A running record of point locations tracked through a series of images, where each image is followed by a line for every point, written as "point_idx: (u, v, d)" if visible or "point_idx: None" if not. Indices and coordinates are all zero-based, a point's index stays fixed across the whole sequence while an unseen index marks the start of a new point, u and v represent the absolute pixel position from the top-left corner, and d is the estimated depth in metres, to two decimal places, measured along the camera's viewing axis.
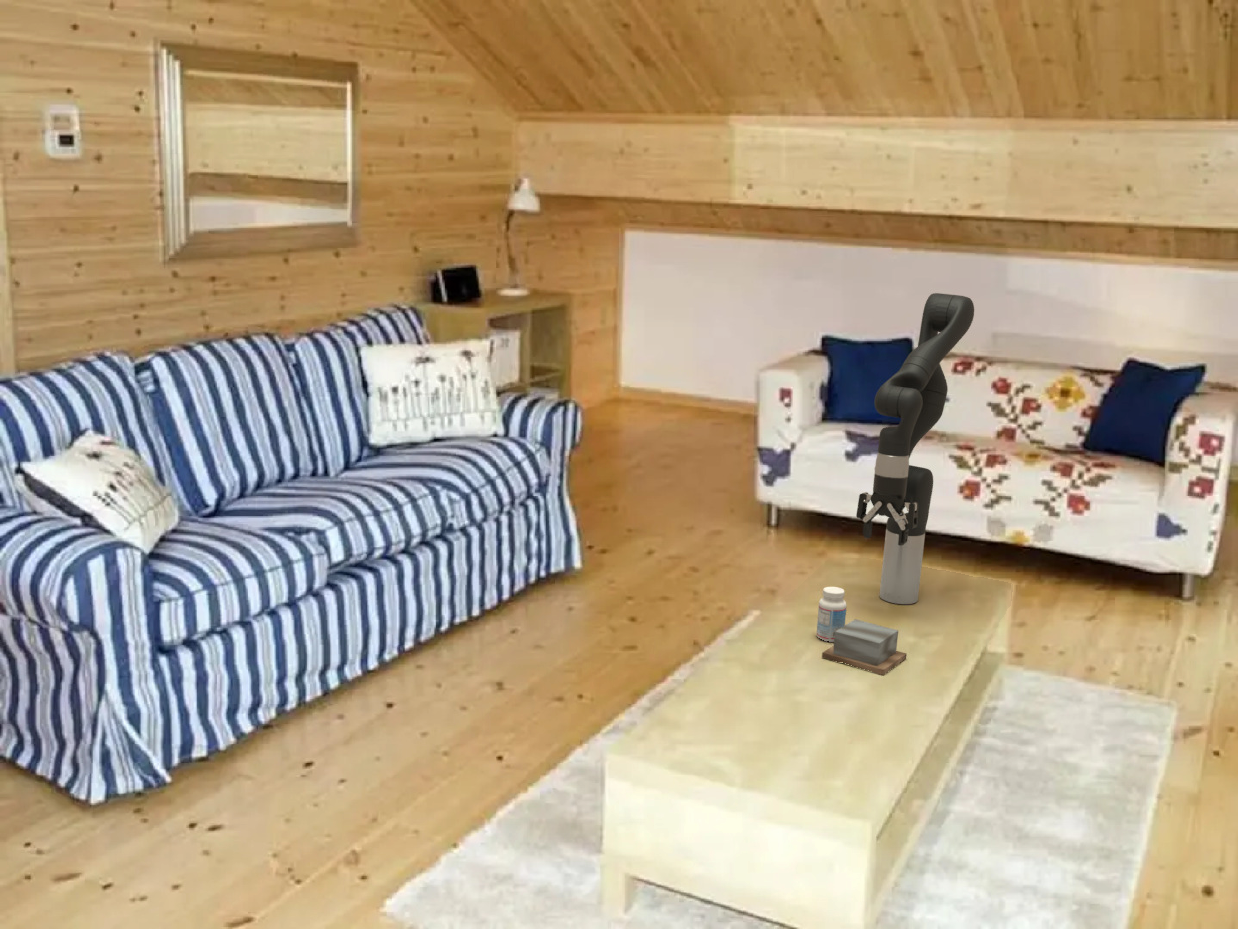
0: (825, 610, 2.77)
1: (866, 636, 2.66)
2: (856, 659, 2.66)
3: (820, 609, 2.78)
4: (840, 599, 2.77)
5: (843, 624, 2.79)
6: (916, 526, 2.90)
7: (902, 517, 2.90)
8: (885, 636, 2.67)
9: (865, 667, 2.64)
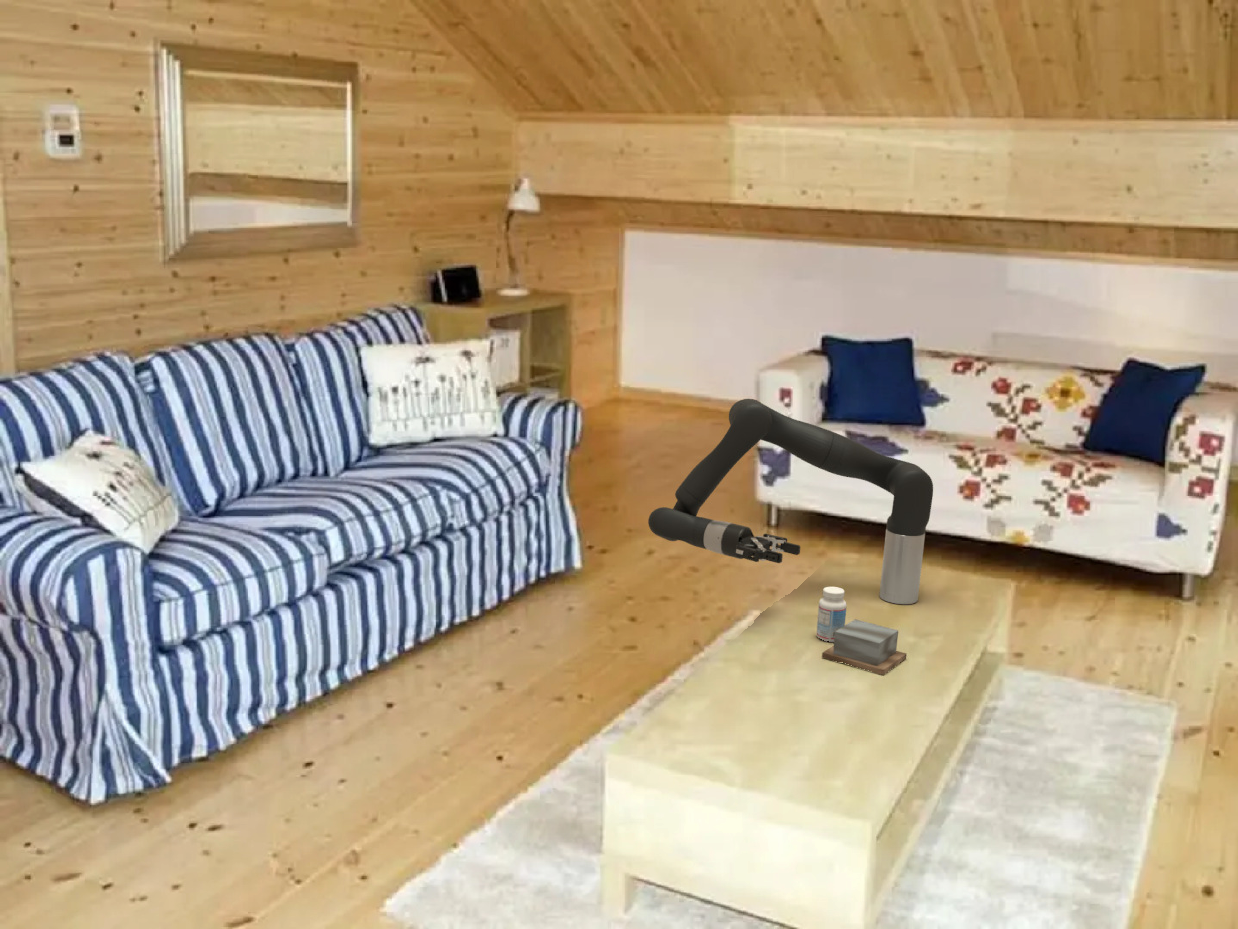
0: (825, 610, 2.77)
1: (866, 636, 2.66)
2: (856, 659, 2.66)
3: (820, 609, 2.78)
4: (840, 599, 2.77)
5: (843, 624, 2.79)
6: (756, 552, 2.80)
7: None
8: (885, 636, 2.67)
9: (865, 667, 2.64)
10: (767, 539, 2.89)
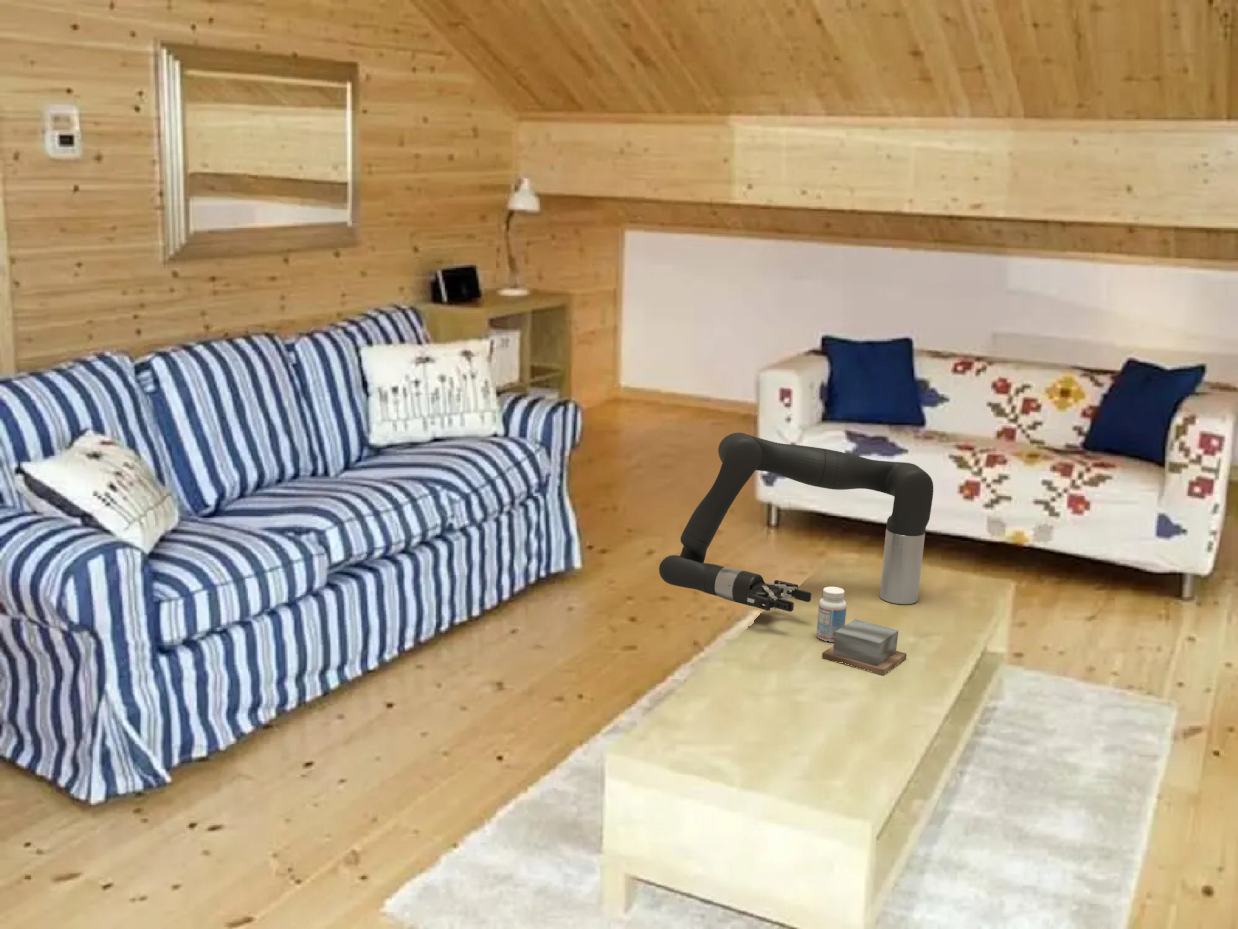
0: (825, 610, 2.77)
1: (866, 636, 2.66)
2: (856, 659, 2.66)
3: (820, 609, 2.78)
4: (840, 599, 2.77)
5: (843, 624, 2.79)
6: (768, 601, 2.81)
7: None
8: (885, 636, 2.67)
9: (865, 667, 2.64)
10: (778, 586, 2.89)
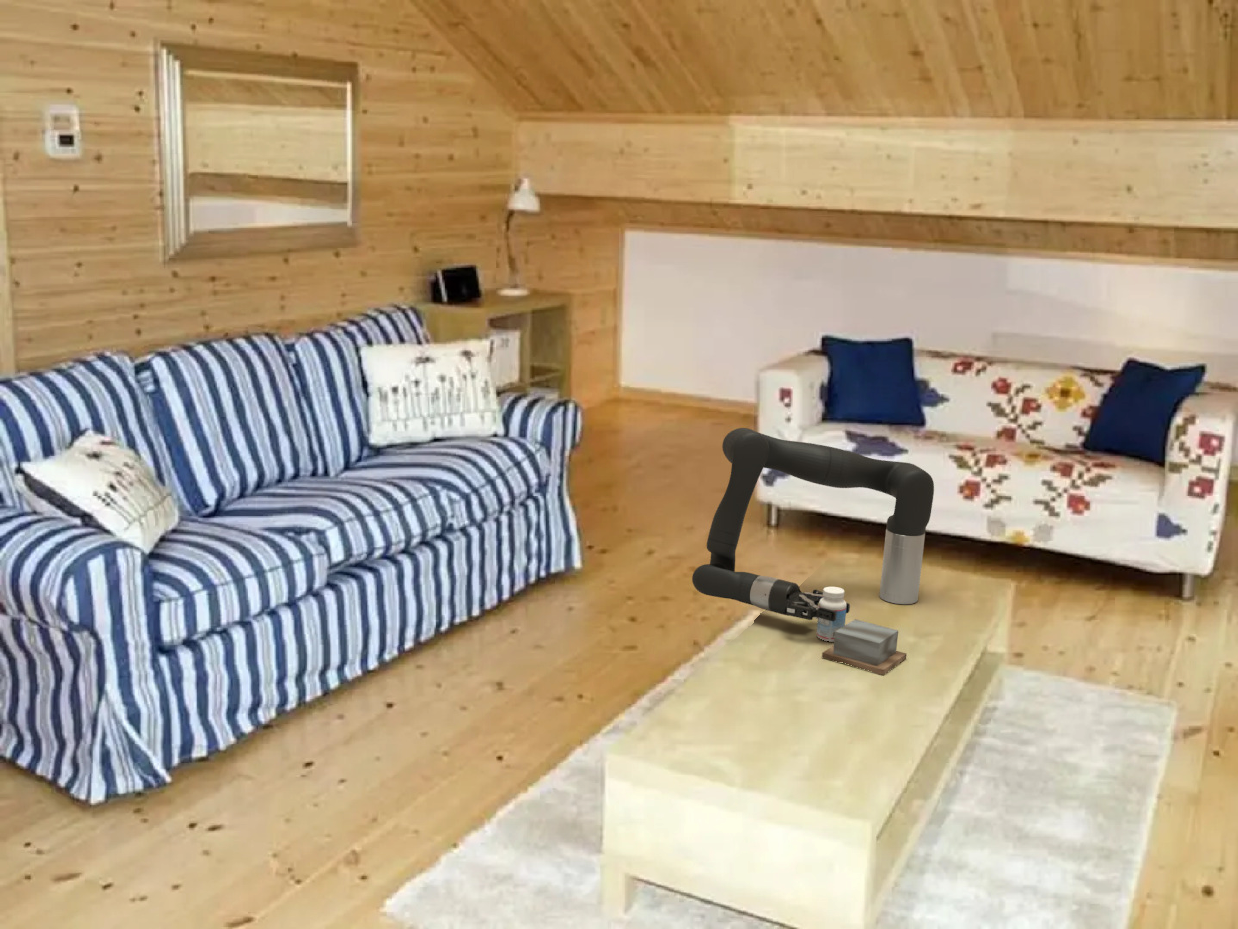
0: None
1: (866, 636, 2.66)
2: (856, 659, 2.66)
3: None
4: (840, 599, 2.77)
5: (843, 624, 2.79)
6: (810, 610, 2.76)
7: None
8: (885, 636, 2.67)
9: (865, 667, 2.64)
10: (815, 596, 2.84)
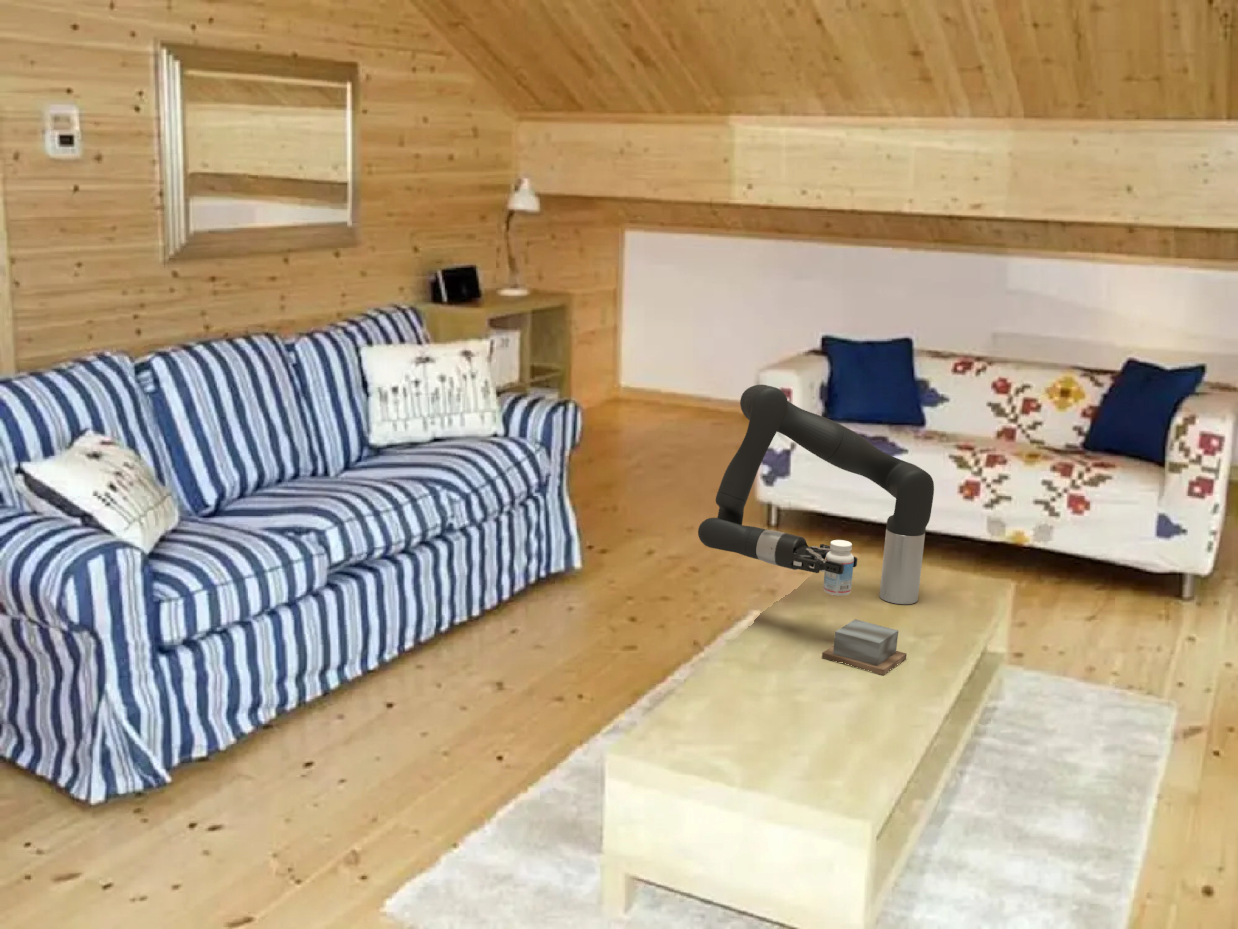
0: None
1: (866, 636, 2.66)
2: (856, 659, 2.66)
3: None
4: (847, 552, 2.74)
5: (850, 577, 2.75)
6: (817, 563, 2.72)
7: None
8: (885, 636, 2.67)
9: (865, 667, 2.64)
10: (822, 550, 2.80)
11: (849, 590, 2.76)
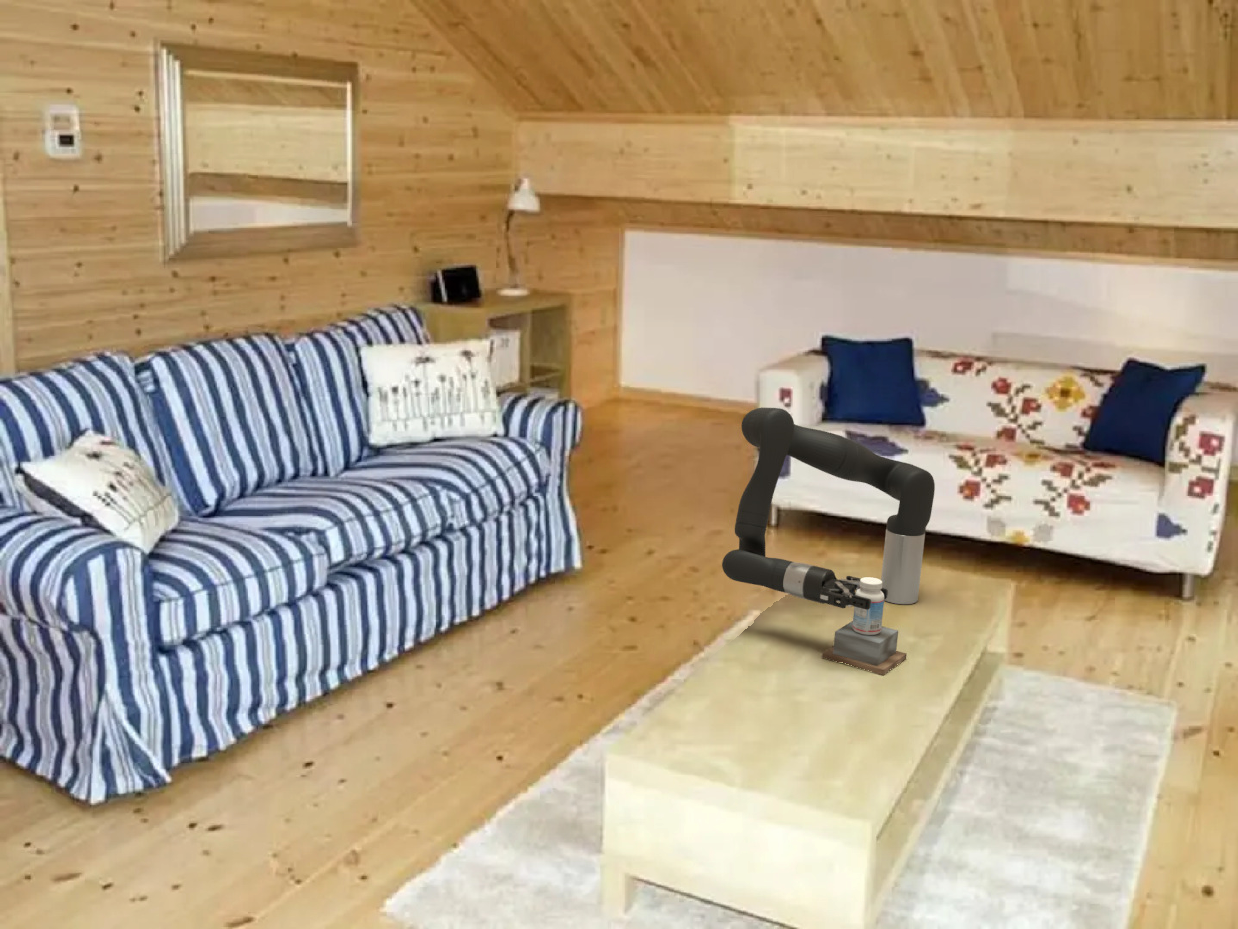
0: None
1: (866, 636, 2.66)
2: (856, 659, 2.66)
3: None
4: (878, 590, 2.65)
5: (881, 616, 2.66)
6: (843, 598, 2.63)
7: None
8: (885, 636, 2.67)
9: (865, 667, 2.64)
10: (852, 583, 2.71)
11: (879, 629, 2.67)
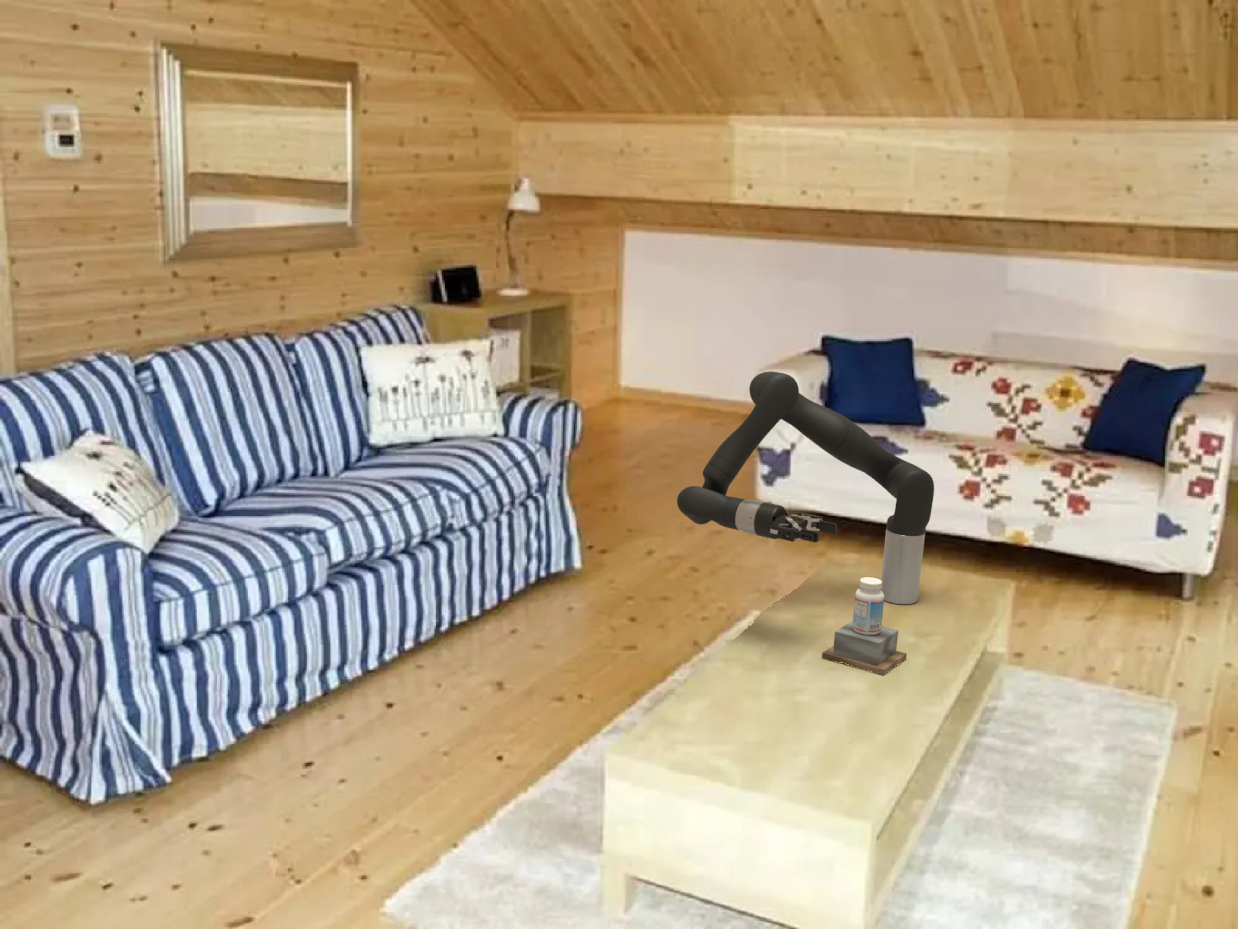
0: (862, 601, 2.65)
1: (866, 636, 2.66)
2: (856, 659, 2.66)
3: (857, 601, 2.66)
4: (878, 590, 2.65)
5: (881, 616, 2.66)
6: (792, 531, 2.67)
7: None
8: (885, 636, 2.67)
9: (865, 667, 2.64)
10: (802, 518, 2.76)
11: (879, 629, 2.67)
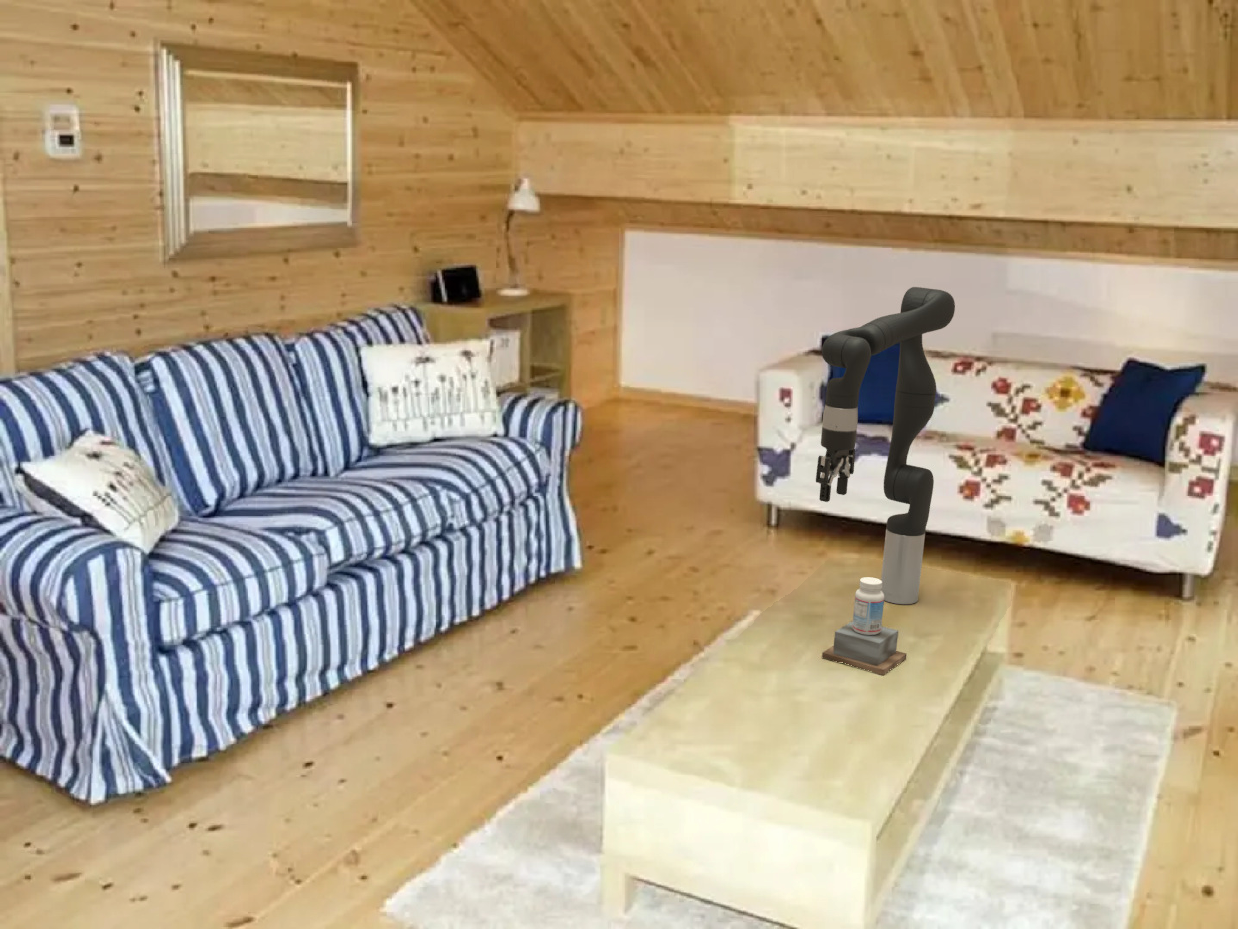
0: (862, 601, 2.65)
1: (866, 636, 2.66)
2: (856, 659, 2.66)
3: (857, 601, 2.66)
4: (878, 590, 2.65)
5: (881, 616, 2.66)
6: (824, 483, 2.74)
7: None
8: (885, 636, 2.67)
9: (865, 667, 2.64)
10: (846, 466, 2.81)
11: (879, 629, 2.67)
